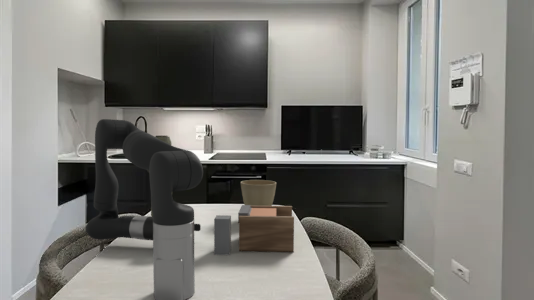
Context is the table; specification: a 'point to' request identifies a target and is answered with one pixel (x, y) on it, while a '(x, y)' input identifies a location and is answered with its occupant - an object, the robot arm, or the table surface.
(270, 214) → the trapdoor
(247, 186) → the plant pot
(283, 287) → the table surface
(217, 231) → the basalt block
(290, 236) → the walnut frame
